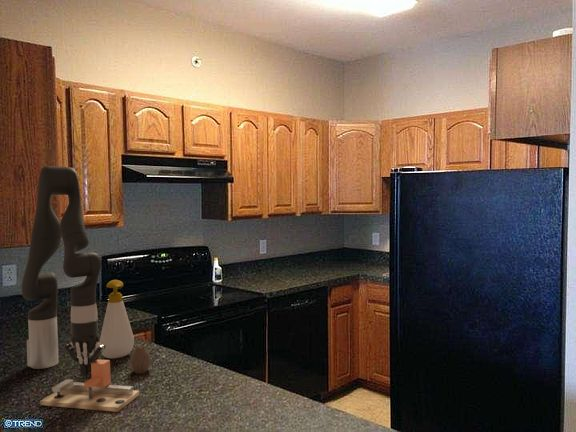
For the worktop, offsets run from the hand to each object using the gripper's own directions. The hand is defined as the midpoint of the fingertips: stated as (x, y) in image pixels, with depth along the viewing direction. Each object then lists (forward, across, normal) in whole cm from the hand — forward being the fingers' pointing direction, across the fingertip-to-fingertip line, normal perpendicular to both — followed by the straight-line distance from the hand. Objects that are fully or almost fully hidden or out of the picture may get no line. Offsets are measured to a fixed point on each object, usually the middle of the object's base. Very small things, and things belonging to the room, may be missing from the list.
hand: (86, 375), depth 149 cm
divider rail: (+5, +3, -3) cm, 6 cm away
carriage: (+4, +5, -2) cm, 7 cm away
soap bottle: (+6, -10, +33) cm, 35 cm away
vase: (+6, +6, +21) cm, 23 cm away
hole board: (+6, +3, -3) cm, 7 cm away
